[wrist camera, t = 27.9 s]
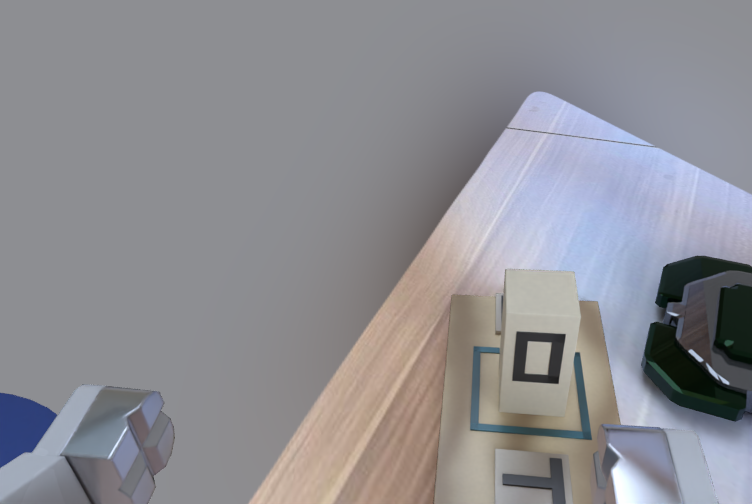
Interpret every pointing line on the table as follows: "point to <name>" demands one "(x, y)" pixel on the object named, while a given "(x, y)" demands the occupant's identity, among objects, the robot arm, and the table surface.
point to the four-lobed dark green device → (704, 337)
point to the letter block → (537, 341)
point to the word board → (517, 417)
